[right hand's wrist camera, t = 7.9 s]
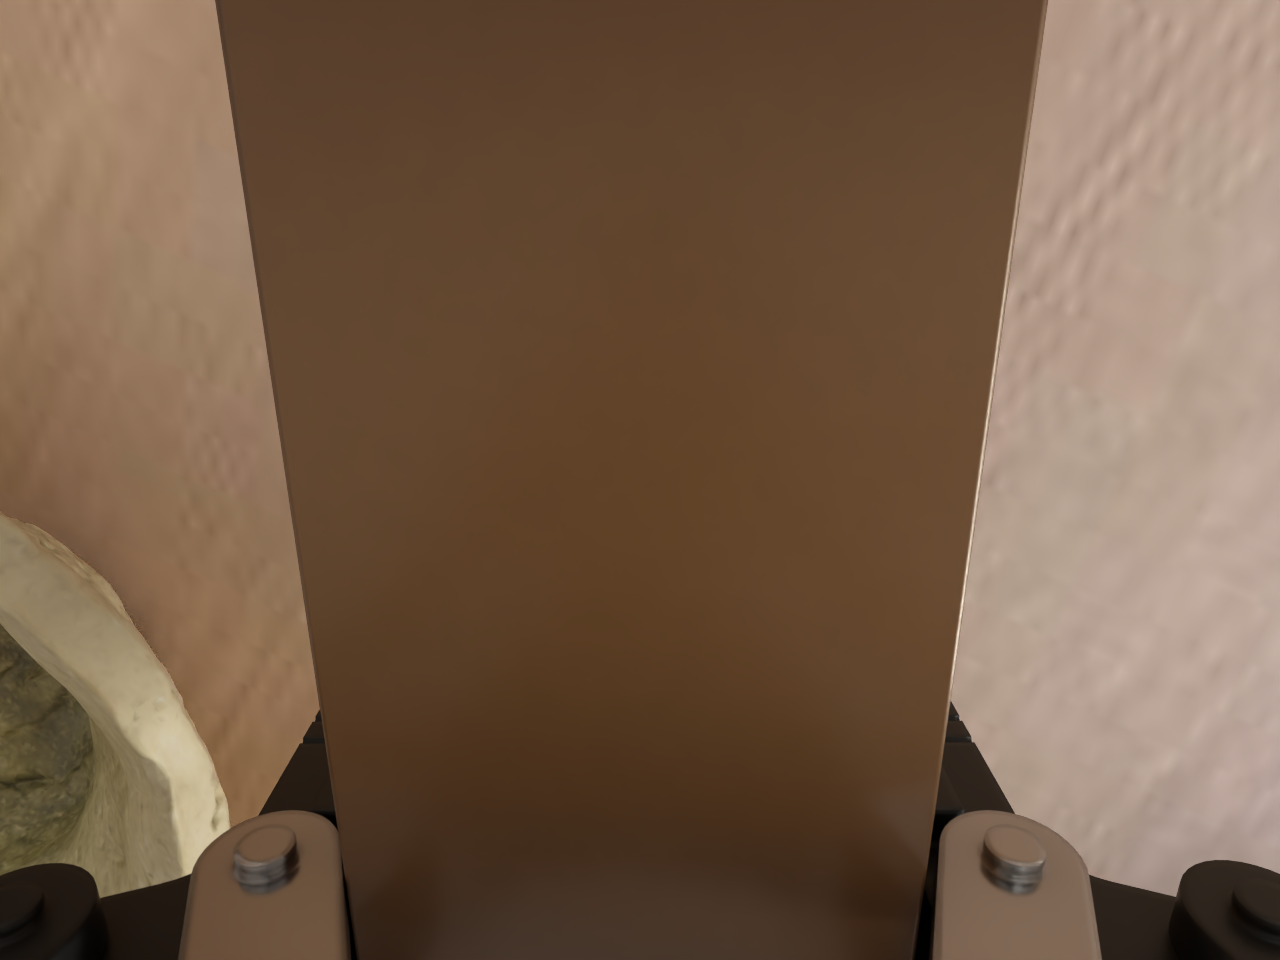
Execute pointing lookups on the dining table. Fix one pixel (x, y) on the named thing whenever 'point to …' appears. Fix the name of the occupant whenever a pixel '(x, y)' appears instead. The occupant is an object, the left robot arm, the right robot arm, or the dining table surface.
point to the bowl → (92, 730)
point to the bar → (633, 448)
